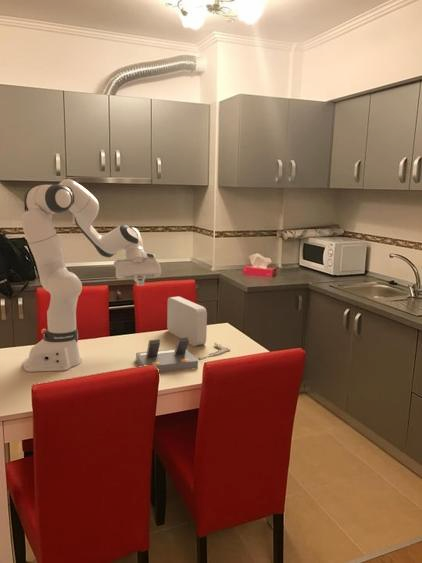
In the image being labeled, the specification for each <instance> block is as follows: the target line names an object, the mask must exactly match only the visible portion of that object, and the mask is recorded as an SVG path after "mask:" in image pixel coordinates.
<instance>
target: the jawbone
mask: <svg viewBox="0 0 422 563" xmlns="http://www.w3.org/2000/svg"><path fill="white" fill-rule="evenodd" d="M214 345H215V346H216V347H217V349H218V350H217V351H215V352H211V353H208V355H206V356H205V355H204V356H199V357H198V361H201V360H200V359H202V360H204V359H208V358H212V357H213V358H214V357H218V356H222V355H224V354H226V353H228V352H230V351H231V349H230V348H228V347H224V346H222V345H221V344H218V343H217V342H214ZM207 357H208V358H207Z"/></svg>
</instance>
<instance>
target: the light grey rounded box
mask: <svg viewBox="0 0 422 563" xmlns="http://www.w3.org/2000/svg"><path fill="white" fill-rule="evenodd" d="M166 310H167V311H166V312H167V316H166V317H167V318H166V320H167V325H166V326H167V331H168V332H169V333H170V334H173V335H175V336H176V337H177V338H188V340H189V342H188V344H190V345H192V346H194V347H196V346H197V347H198V346H203V345H205V344H206V343H207V329H208V327H207V326H208V324H207V323H208V322H207V321H208V312H207V309H206V307H205V306H203V305H201V304H198V303H195V302H193V301H191V300H188V299H186V298H184V297H182V296H171V297H170V296H169V297H168V298H167V309H166Z"/></svg>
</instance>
